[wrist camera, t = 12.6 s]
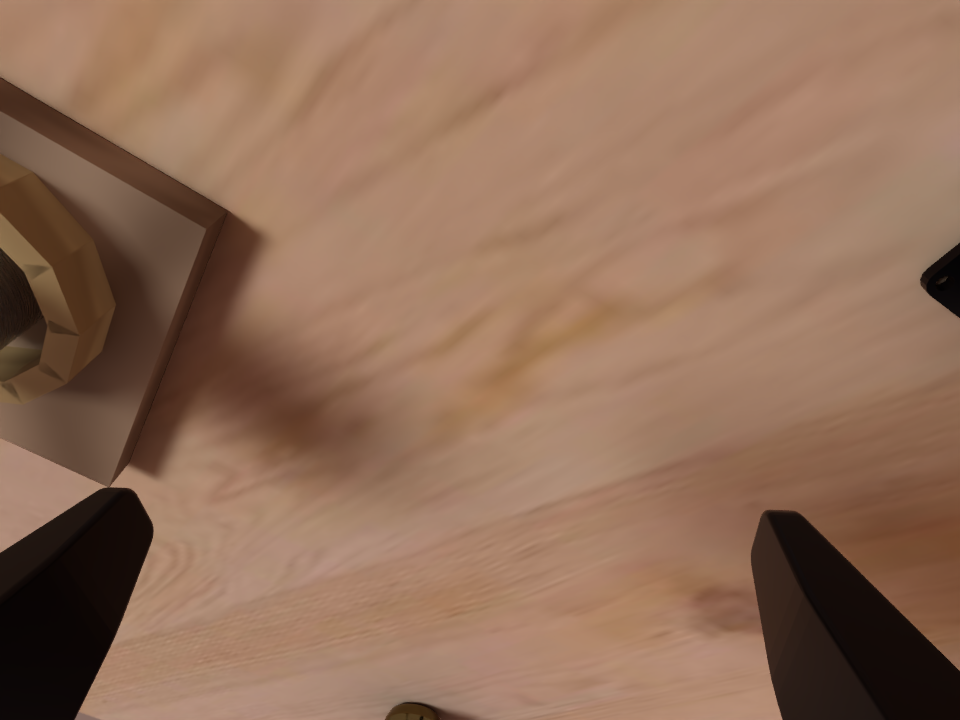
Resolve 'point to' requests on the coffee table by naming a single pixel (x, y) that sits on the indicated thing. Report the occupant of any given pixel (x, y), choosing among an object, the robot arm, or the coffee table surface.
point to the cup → (411, 713)
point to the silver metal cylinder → (15, 302)
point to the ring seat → (91, 285)
